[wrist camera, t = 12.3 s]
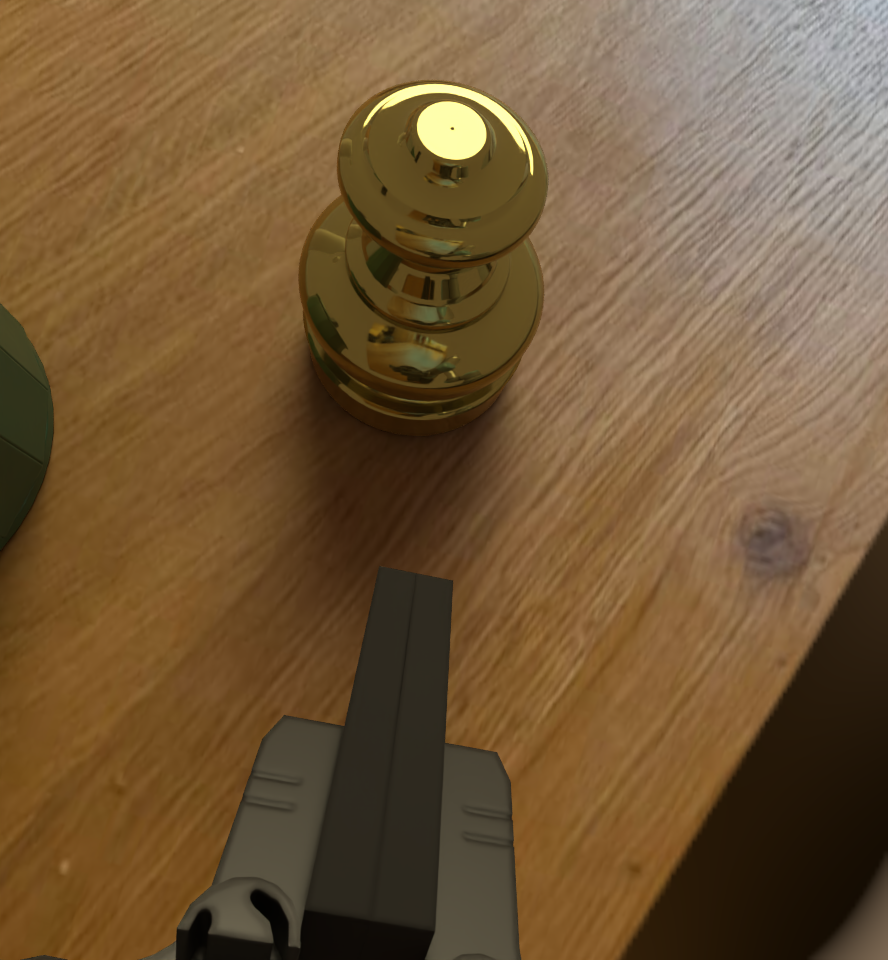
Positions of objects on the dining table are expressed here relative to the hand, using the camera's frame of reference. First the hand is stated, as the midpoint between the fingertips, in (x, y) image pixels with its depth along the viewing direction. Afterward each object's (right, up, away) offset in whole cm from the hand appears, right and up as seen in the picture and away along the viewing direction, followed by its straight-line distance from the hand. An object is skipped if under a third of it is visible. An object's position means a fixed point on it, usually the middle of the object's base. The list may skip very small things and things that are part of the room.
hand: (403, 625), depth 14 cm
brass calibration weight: (0, +8, +10) cm, 13 cm away
